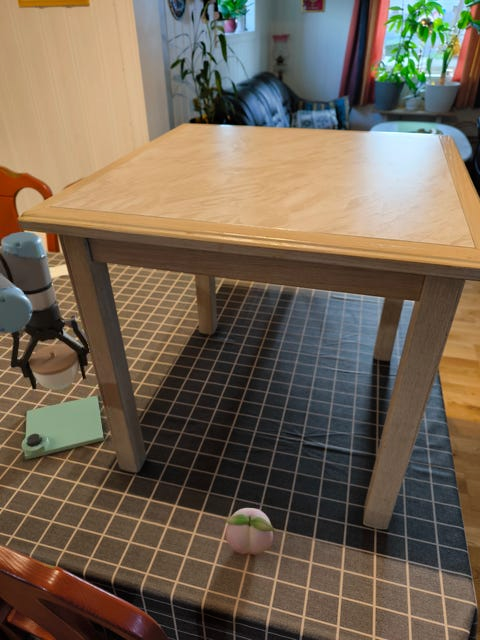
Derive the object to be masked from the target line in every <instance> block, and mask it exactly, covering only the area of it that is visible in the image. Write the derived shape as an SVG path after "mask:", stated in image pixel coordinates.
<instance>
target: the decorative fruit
mask: <svg viewBox="0 0 480 640" xmlns="http://www.w3.org/2000/svg"><path fill="white" fill-rule="evenodd" d="M224 522H225V523H227V526H226V530H225V539H226V543H227V545H228V546H229V547H230V549H232V550H233V552H236V553H239V554H241V555H248V554H250V555H255V556H256V555H259V554H262V553H264V552H266V551H267V550H269V548H270V547H271V545H272V543H273V539H274V533H273V532H275V529H274V527H273V525H272V523H271V521H270V518H269V517H268V516H267V514H266V513H264V511H262V510H260V509H258V508H253V507H243V508H240V509H238V510H237V511H235V512H234V513H233V514H232V515H230V516H229V517H228V518H227V519H225V521H224Z"/></svg>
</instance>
